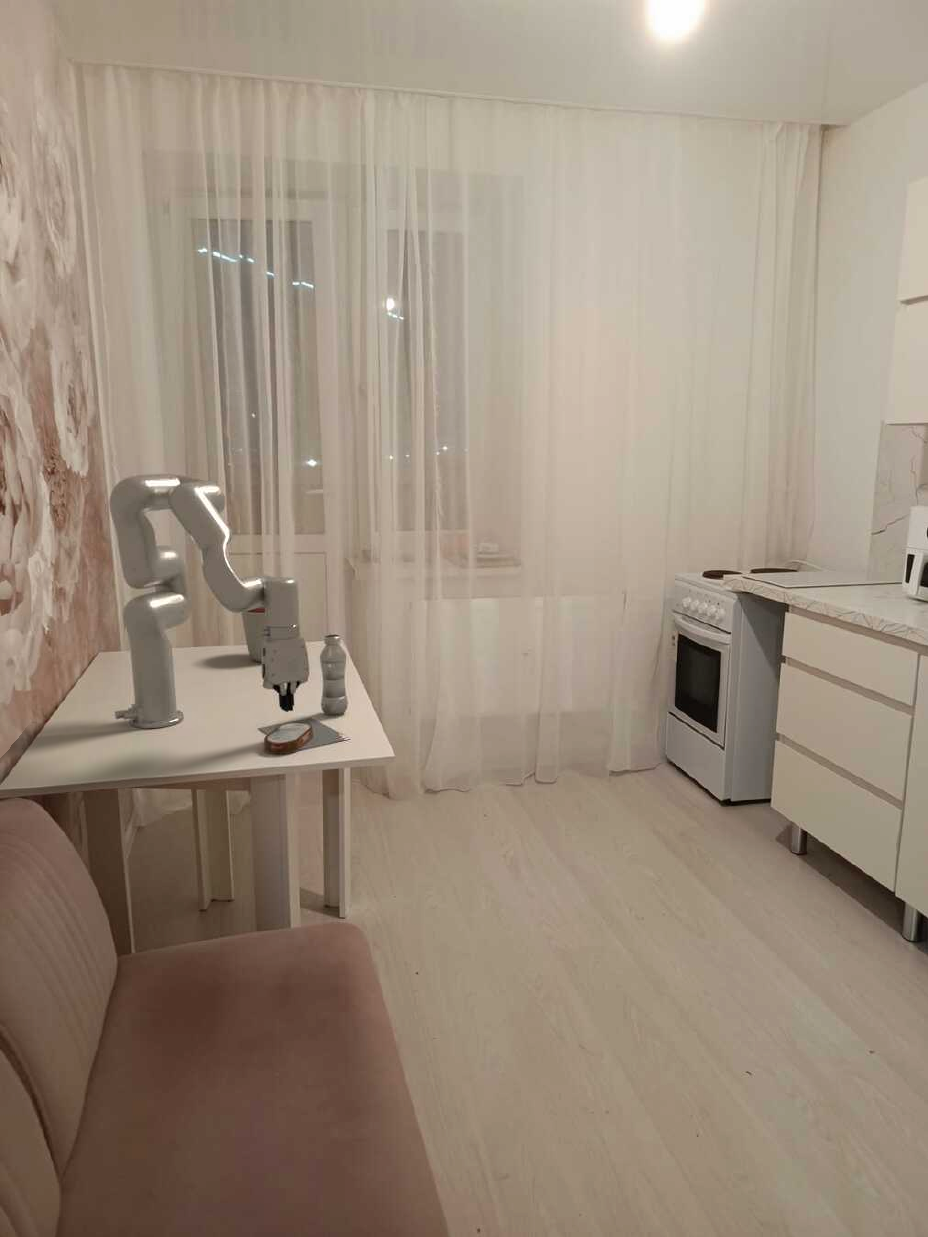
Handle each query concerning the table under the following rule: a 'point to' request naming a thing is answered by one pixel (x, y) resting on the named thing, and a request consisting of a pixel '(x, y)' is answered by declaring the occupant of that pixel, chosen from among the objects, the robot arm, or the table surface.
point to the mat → (320, 733)
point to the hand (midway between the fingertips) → (287, 709)
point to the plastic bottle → (333, 676)
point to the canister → (254, 631)
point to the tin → (288, 738)
